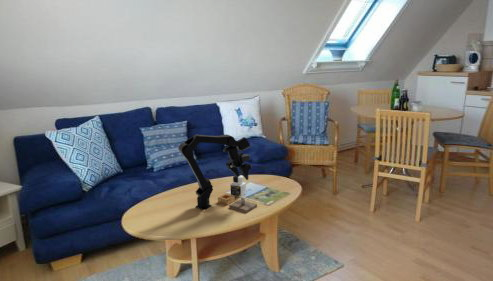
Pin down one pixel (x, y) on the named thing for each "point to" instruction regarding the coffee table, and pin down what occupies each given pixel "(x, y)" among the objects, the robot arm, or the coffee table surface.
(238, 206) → the keeper plate
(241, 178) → the medicine bottle
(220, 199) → the brown hollow square block
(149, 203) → the coffee table surface
